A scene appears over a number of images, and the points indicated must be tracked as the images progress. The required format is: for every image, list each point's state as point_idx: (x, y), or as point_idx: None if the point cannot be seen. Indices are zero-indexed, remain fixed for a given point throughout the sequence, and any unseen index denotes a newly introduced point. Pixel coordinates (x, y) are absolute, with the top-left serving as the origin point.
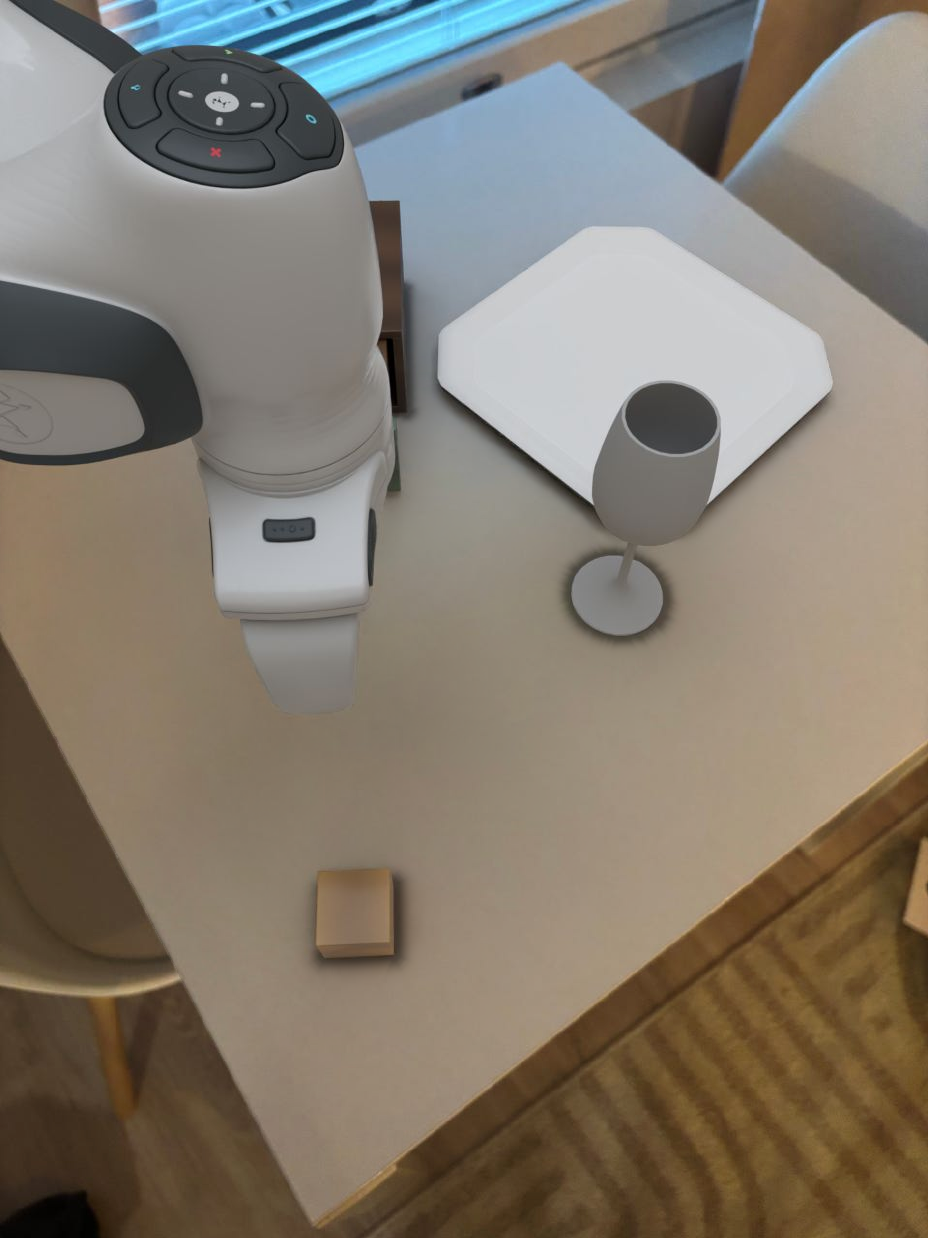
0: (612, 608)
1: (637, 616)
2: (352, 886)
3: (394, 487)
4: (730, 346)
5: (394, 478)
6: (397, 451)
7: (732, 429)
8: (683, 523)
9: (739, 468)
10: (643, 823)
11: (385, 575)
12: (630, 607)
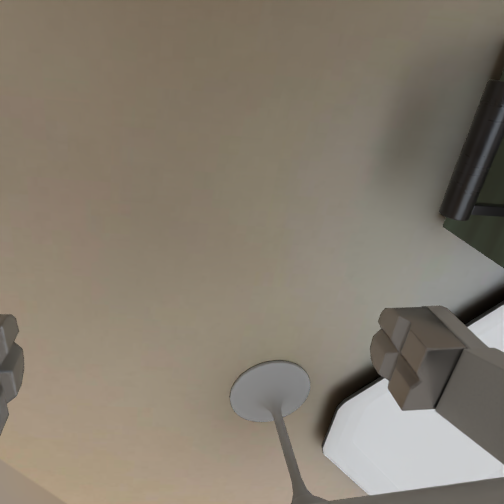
0: (255, 394)
1: (245, 407)
2: None
3: (449, 223)
4: (462, 472)
5: (460, 231)
6: (494, 261)
7: (392, 471)
8: None
9: (356, 481)
10: (42, 399)
11: (347, 197)
12: (253, 405)
